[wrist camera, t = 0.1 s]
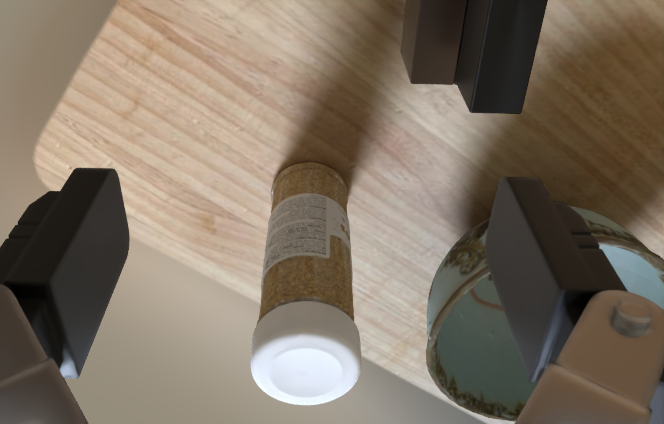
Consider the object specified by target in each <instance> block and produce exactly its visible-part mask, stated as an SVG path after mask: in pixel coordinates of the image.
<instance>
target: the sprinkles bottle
mask: <svg viewBox="0 0 664 424" xmlns="http://www.w3.org/2000/svg"><path fill="white" fill-rule="evenodd" d="M271 201H272V210H271V216H270V219H269V224H268V232H267V240H266V249H265V257H264V266H263V274H262V282H261V290H262V293H261V306H260V315H259V320H258V322H257V326H256V328H255V330H254V334H253V340H252V348H251V372H252V376H253V378H254V380H255V382H256V383H257V385H258V386H259V387H260V388H261V389H262V390H263V391H264V392H265V393H267V394H268V395H269V396H271V397H273V398H275V399H277V400H280V401H283V402H286V403H291V404H296V405H316V404H322V403H326V402H329V401H332V400H334V399H336V398H339V397H340V396H342V395H344V394H345V393H346V392H348V391H349V390H350V389H351V388H352V387H353V386H354V384H355V383H356V381H357V380H358V377H359V375H360V372H361V347H360V336H359V332H358V329H357V326H356V325H355V323H354V314H353V313H354V310H353V294H352V260H351V244H350V229H349V220H348V217H347V203H348V191H347V187H346V184H345V182H344V181H343V179H342V177H341V176H340V175H339V174H338V173H337V172H336V171H335V170H333V169H331V168H329V167H327V166H325V165H322V164H319V163H314V162H307V163H299V164H295V165H292V166H290V167H288V168H287V169H284V170H283V171H282V172H281V173H280V174H279V175H278V176H277V178H276V180H275V181H274V183H273V186H272V190H271Z"/></svg>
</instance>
